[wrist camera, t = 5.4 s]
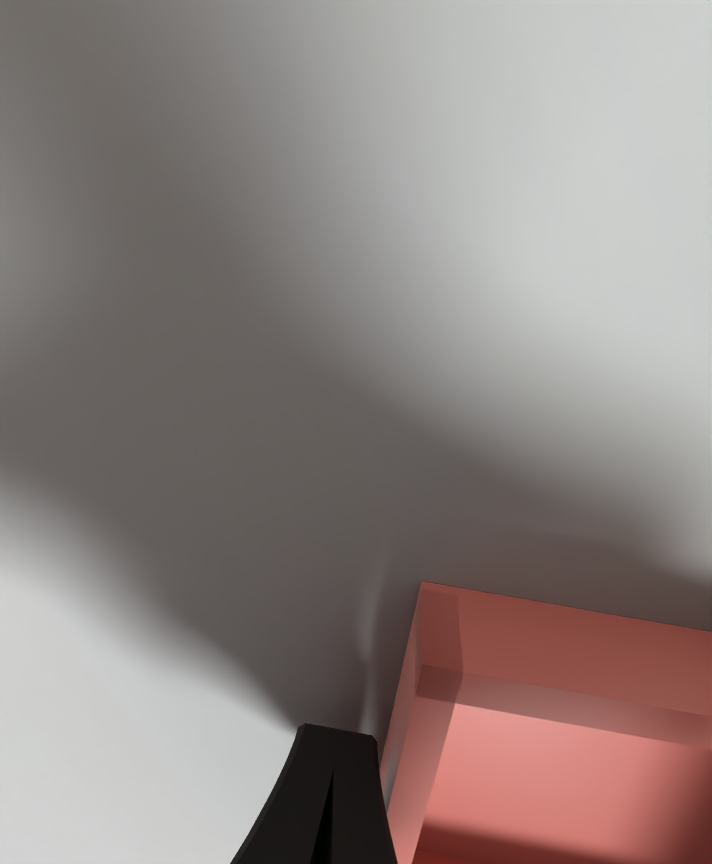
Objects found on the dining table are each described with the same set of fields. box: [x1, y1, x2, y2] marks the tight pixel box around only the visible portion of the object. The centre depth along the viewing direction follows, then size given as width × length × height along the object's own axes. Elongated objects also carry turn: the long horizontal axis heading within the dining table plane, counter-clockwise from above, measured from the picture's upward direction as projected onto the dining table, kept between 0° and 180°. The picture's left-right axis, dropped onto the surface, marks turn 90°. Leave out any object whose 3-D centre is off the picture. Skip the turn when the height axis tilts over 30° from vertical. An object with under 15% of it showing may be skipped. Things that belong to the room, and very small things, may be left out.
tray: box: [379, 581, 712, 864], centre depth 11 cm, size 7×11×2 cm, turn 82°
